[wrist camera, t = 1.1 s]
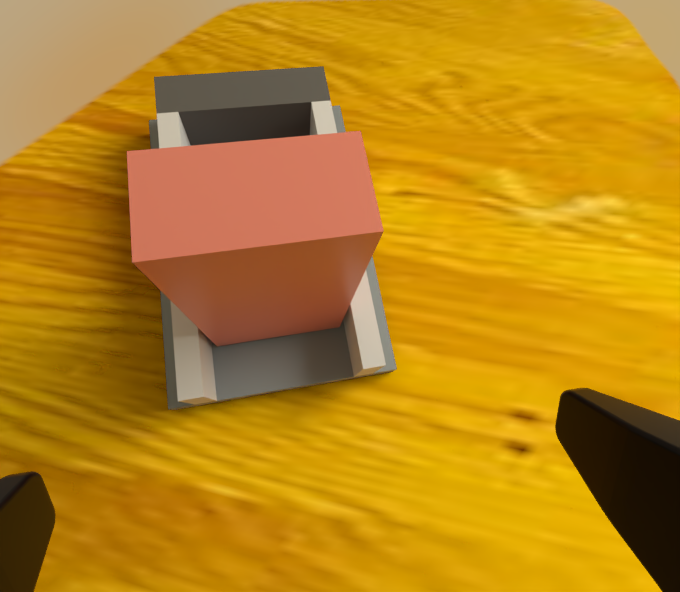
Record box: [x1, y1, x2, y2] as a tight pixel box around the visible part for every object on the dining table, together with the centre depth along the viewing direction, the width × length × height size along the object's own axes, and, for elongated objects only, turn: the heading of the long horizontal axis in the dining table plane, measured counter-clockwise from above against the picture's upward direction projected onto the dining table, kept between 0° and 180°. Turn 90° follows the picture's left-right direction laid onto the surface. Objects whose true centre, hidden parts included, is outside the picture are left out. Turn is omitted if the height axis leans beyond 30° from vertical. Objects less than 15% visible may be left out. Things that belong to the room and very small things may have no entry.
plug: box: [127, 131, 383, 346], centre depth 16 cm, size 3×6×11 cm, turn 101°
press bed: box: [149, 67, 397, 410], centre depth 21 cm, size 16×11×4 cm
